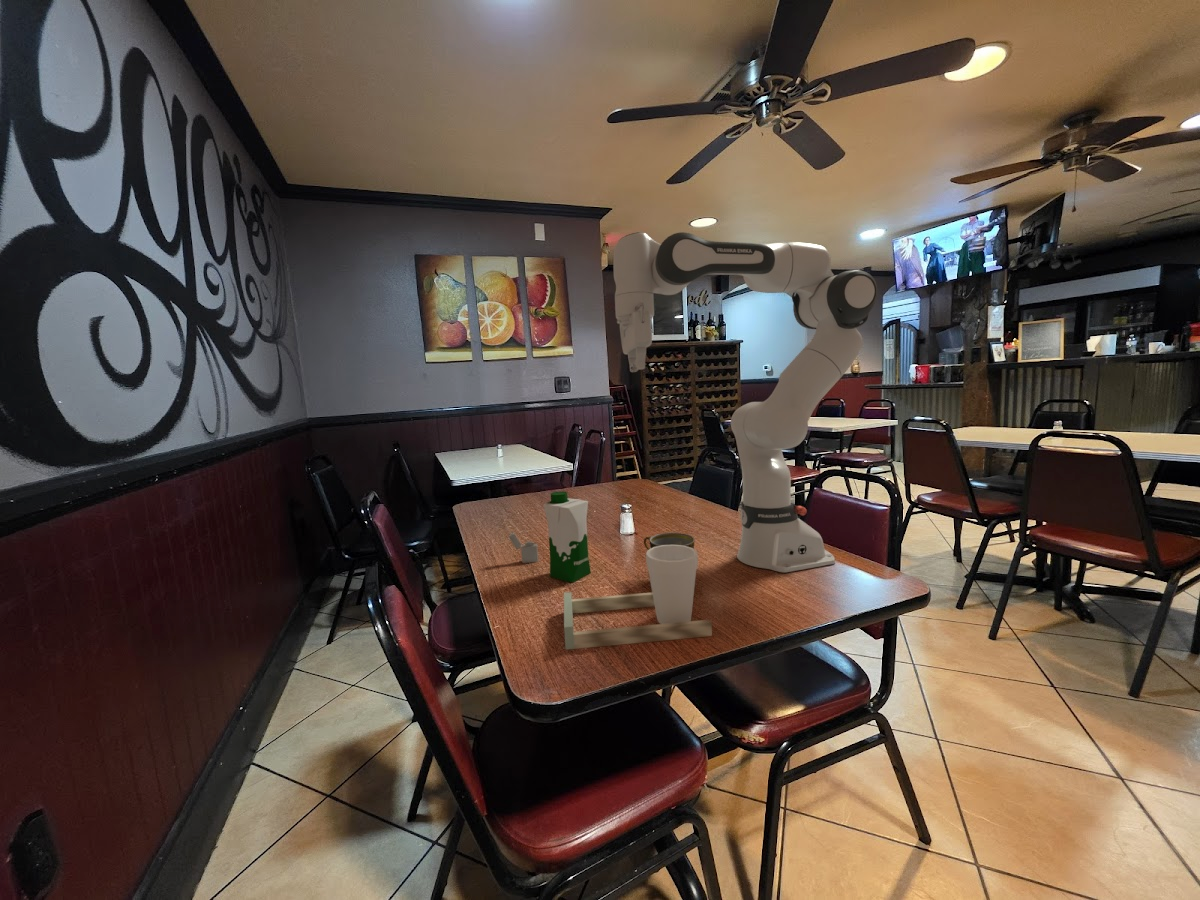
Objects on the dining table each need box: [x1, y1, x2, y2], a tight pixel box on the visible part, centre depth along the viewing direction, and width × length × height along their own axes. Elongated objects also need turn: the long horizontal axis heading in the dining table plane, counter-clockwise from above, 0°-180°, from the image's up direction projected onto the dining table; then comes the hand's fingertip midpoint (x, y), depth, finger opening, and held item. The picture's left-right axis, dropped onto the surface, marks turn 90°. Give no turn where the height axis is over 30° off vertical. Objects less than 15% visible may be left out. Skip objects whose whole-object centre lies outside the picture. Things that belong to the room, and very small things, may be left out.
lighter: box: [508, 532, 539, 564], centre depth 121 cm, size 7×2×8 cm, turn 95°
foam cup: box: [645, 545, 699, 624], centre depth 86 cm, size 10×9×13 cm
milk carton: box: [543, 491, 592, 584], centre depth 110 cm, size 9×9×20 cm
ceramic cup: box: [643, 532, 695, 551], centre depth 104 cm, size 13×10×10 cm
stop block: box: [563, 591, 575, 651], centre depth 85 cm, size 2×14×4 cm, turn 5°
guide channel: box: [572, 591, 713, 650], centre depth 86 cm, size 24×14×2 cm, turn 95°
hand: (637, 370), depth 107 cm, fingers open, 8 cm apart
